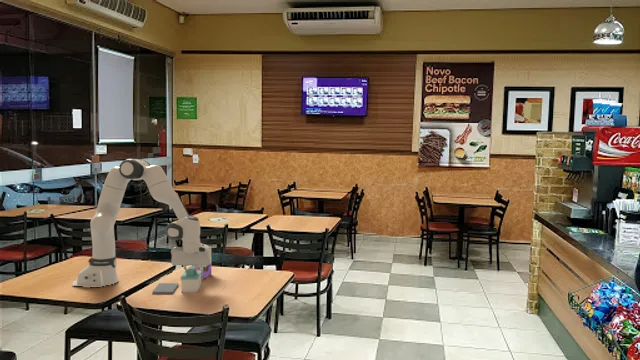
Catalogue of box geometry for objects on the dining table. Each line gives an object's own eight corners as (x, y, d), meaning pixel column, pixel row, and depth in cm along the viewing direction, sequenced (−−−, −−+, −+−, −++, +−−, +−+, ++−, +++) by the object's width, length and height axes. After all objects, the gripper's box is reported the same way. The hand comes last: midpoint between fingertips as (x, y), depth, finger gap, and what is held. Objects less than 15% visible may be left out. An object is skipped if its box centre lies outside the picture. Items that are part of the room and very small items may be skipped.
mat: (152, 294, 242) (152, 291, 242) (159, 285, 256) (159, 283, 256) (172, 294, 243) (172, 291, 243) (178, 285, 257) (178, 283, 257)
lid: (180, 281, 244) (180, 271, 244) (185, 274, 257) (185, 265, 256) (197, 281, 245) (197, 271, 245) (201, 274, 258) (201, 265, 257)
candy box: (201, 281, 265) (201, 252, 264) (191, 280, 266) (191, 251, 265) (211, 274, 279) (211, 246, 277) (202, 273, 280) (202, 245, 278)
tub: (181, 292, 245) (181, 279, 245) (185, 285, 257) (185, 272, 257) (197, 292, 246) (197, 279, 245) (201, 285, 258) (201, 272, 257)
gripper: (169, 248, 246) (169, 274, 247) (210, 248, 247) (210, 274, 249) (172, 245, 252) (172, 271, 253) (211, 245, 254) (211, 271, 255)
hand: (191, 273), depth 251 cm, fingers closed on lid, 3 cm apart
